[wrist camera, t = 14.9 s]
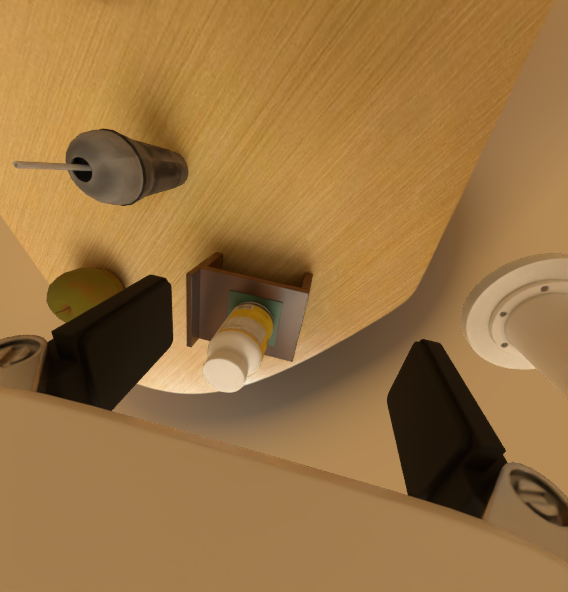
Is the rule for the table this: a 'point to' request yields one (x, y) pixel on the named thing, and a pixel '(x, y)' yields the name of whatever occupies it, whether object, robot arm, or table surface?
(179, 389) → the table surface
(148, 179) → the beverage cup
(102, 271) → the apple
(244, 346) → the pill bottle
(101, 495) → the robot arm
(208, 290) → the shelf
